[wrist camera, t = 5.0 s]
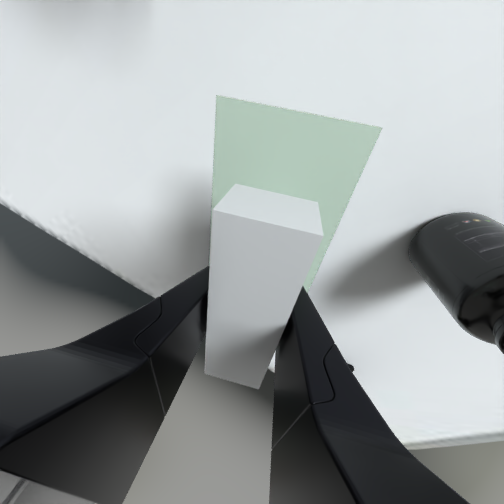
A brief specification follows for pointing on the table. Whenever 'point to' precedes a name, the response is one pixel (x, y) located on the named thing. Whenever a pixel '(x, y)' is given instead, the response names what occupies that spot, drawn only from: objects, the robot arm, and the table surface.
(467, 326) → the supplement bottle
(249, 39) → the table surface
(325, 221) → the cover
